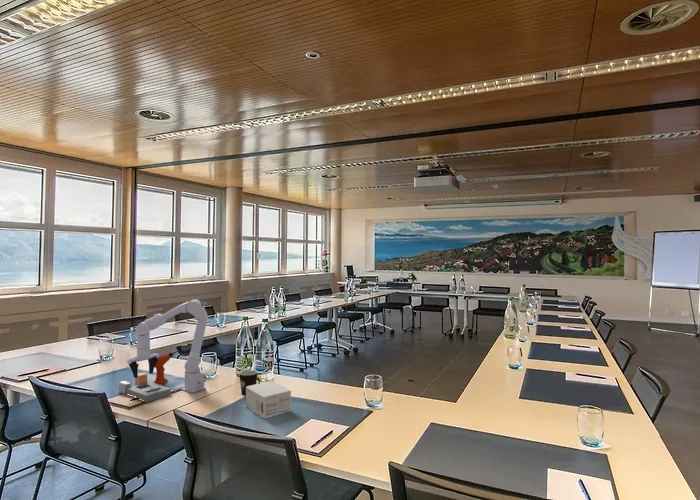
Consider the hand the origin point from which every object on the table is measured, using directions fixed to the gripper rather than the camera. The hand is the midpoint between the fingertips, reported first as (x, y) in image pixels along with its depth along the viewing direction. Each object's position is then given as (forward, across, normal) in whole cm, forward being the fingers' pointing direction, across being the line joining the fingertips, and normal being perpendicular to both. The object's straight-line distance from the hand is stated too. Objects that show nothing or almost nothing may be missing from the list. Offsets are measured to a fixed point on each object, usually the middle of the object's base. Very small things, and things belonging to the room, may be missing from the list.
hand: (143, 375), depth 199 cm
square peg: (+8, -3, -8) cm, 12 cm away
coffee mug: (+9, -28, +44) cm, 52 cm away
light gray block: (+8, +5, -8) cm, 12 cm away
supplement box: (+9, -20, +64) cm, 68 cm away
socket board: (+8, 0, +4) cm, 10 cm away
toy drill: (+9, -17, -8) cm, 21 cm away
